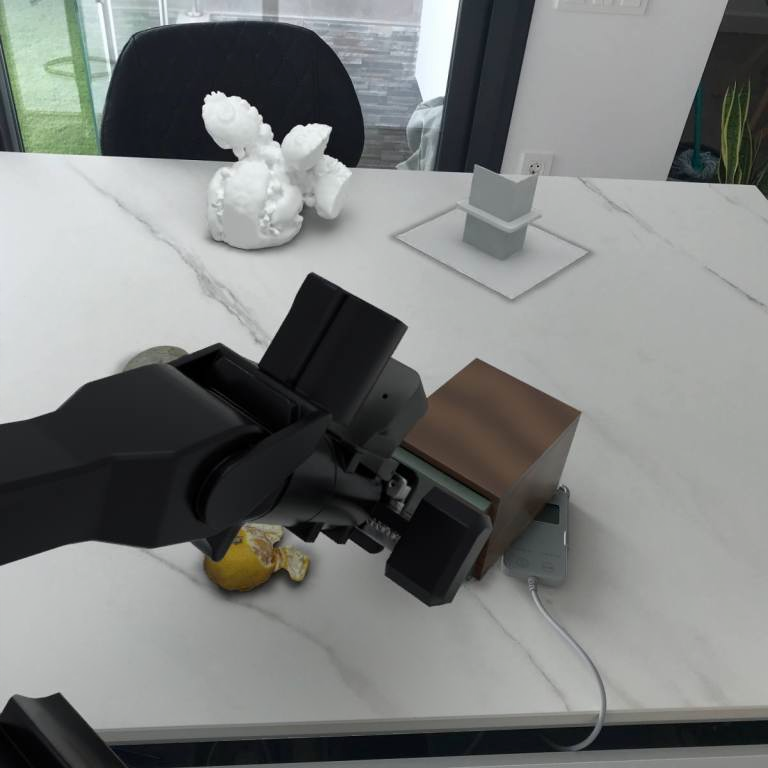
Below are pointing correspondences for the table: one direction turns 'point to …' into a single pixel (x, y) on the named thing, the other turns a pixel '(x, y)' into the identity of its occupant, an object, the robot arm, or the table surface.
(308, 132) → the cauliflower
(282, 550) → the fruit
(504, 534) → the cabinet
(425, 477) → the drawer
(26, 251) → the table surface
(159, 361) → the soupspoon
